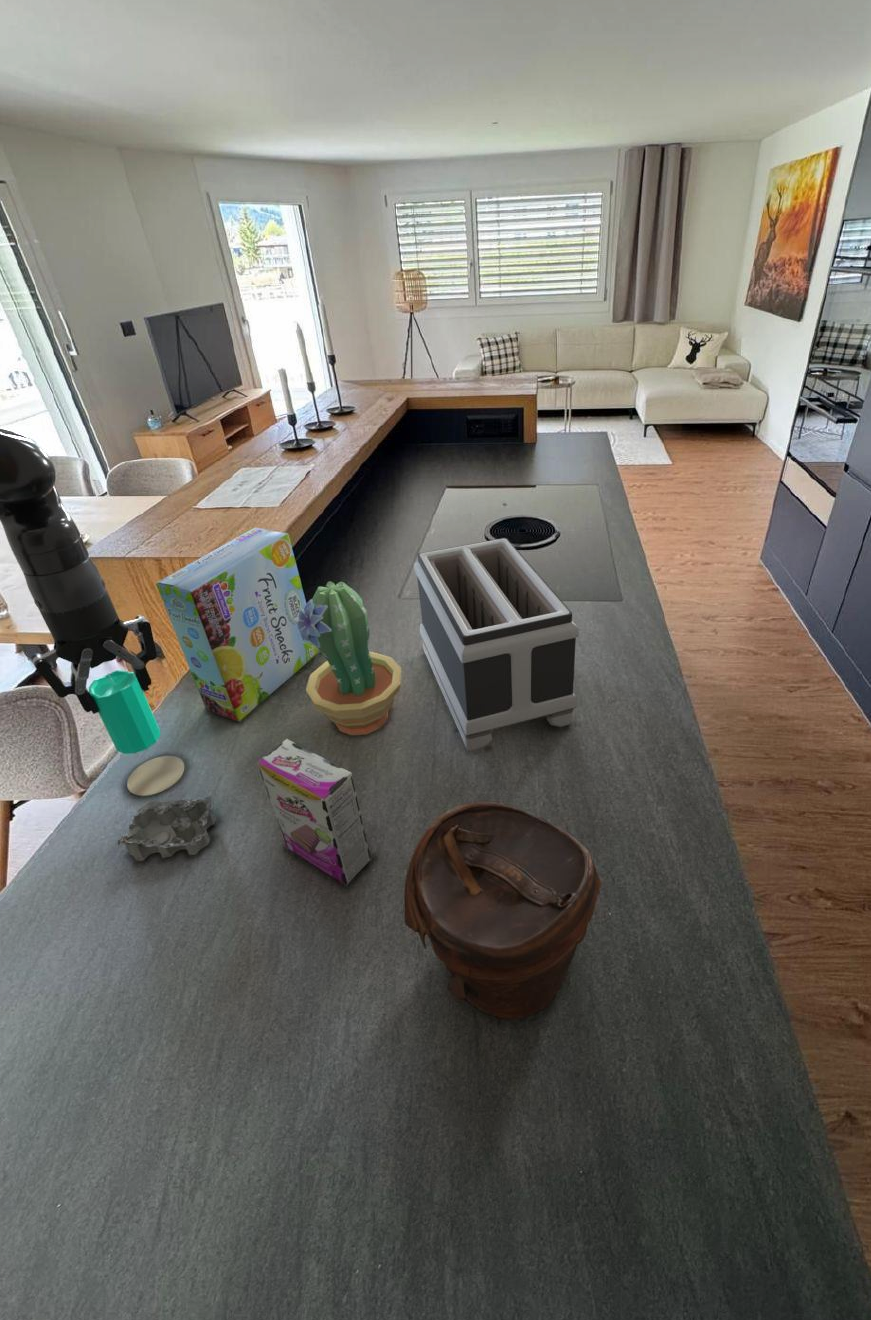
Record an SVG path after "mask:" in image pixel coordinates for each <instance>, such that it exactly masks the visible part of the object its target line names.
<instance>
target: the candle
mask: <svg viewBox="0 0 871 1320" xmlns="http://www.w3.org/2000/svg"><path fill="white" fill-rule="evenodd" d="M88 691H89V693H90V695H91V697H92V699H93V701H94V703H95V705H96V707H97V709H98V711H99V712H98V713H97V714H98V715H99V717H100V719H101V721H102V723H103V725H104V727H105V729H106V731H107V733H108V735H109V737H110V740H111V741H112V743H113V746H114V748H115V750H116V751H117V752H119V753H120V754H124V755H130V754H137V753H140V752H144V751H145V750H148V749H149V748H150V747H152V746H153V745H155V744H156V743H157V742H158V741H159V738H160V737H161V735H162V734H161V730H160V727H159V724H158V723H157V720H156V718H155V716H154V713H153V711H152V709H151V706H150V703H149V702H148V699H147V697H146V694H145V692H144V691H143V690H142V688H141V685H140V683H139V681H138V678H137V676H136V674H135V672H133V671H129V670H126V671H125V670H118V669H117V670H114V671H112V672H110V673H109V672H108V673H107V674H106V675H103V676H101V677H98V678H95V679H93V681H92V682H91V683H90V685H89V686H88Z"/></svg>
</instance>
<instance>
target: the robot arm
mask: <svg viewBox="0 0 871 1320" xmlns="http://www.w3.org/2000/svg"><path fill="white" fill-rule="evenodd" d="M56 479H57V474H56V468H55V465H54V463H53V461H52V458H51V457H50V456H49V454H48V453H47V452H46V451H45V450H44V449H43V448H42V447H41V446H40V445H39V444H38V443H37V442H36V441H35V440H33V439H32V438H31V437H30V436H28V435H27V434H25V433H23V432H22V431H19V430H16V429H13V428H8V427H0V523H1V525H2V527H3V530H4V534H5V536H6V539H7V542H8V545H9V547H10V549H11V551H12V554H13V556H14V557H15V560H16V561H17V563H18V565H19V568H20V570H21V572H22V574H23V576H24V578H25V582H26V587H27V588H28V591H29V593H30V595H31V597H32V599H33V601H34V602H33V603H34V605H35V606H36V607H37V609H38V611H39V613H40V615H41V617H42V619H43V620H44V623H45V624H46V627H47V629H48V630H49V633H50V634H51V637H52V638H53V641H54V644H53V648H52V649H51V650H48V651H47V652H45V653H43V654H40V653H34V654H33V655H32V656H31V657H30V658H31V662H32V664H33V665H34V667H35V669H36V671H38V673H39V674H40V675H41V677H42V678H43V679H44V680H45V682H46V683H47V684H48V685H49V686H50V688H51V689H52V690H53V692H54V693H55V694H56V695H57V697H59V698H67V696H68V695H74V696H76V698H77V699H78V702H79V704H80V706H81V707H82V709H83V711H85V712H86V713H90V712H91V713H92V715H95V714H99V713H98V712H99V711H98V709H97V707H96V705H95V703H94V701H93V699H92V697H91V695H90V693H89V688H87V683H88V679H89V677H90V671H91V669H94V668H96V667H97V668H98V667H99V666H100V665H102V664H103V663H107V662H112V661H114V660H117V659H118V658H119V659H121V660H122V661H123V662H125V663H127V664H129V665H130V667H131V670H132V672H135V674H136V676H137V678H138V681H139V683H140V685H141V688H142V690H143V692H144V693H145V692H147V691H149V690H150V687H149V686H152V683H153V682H152V679H151V676H150V674H149V671H148V670H147V664H148V663H149V662H150V661H154V660H156V659H157V657H158V653H157V648H156V644H155V640H154V635H153V631H152V626H151V623H150V621H148V620H147V619H146V617H145V616H144V615H142V614H141V615H140V614H139V615H137V616H135V618H134V619H133V620H129V621H125V622H124V621H123V620H122V619H120V617H119V614H118V612H117V610H116V607H115V605H114V603H113V600H112V599H111V596H110V593H109V591H108V590H107V587H106V582H105V579H104V578H103V577H102V575H101V572H100V571H99V568H98V567H97V565H96V563H95V561H94V560H93V559H92V557H91V555H90V553H89V551H88V548H87V546H86V544H85V541H84V539H83V537H82V535H81V532H80V530H79V528H78V526H77V524H76V522H75V521H74V520H73V519H74V518H72V516H71V515H70V513H69V512H68V511H67V509H66V507H65V506H64V504H63V502H62V499H61V497H60V494H59V491H58V489H57V487H56V485H55V484H56ZM129 632H132V633H133V634H134V636H136V637H138V640H139V641H138V642H139V645H140V649H141V650H140V651H139V652H138V653H136V652H134V651H133V650H131V649H130V648H129V647H128V646H126V645H125V643H126V639H127V636H128V634H129ZM59 658H60V659H62V660H64V661H67V662H69V663H70V672H71V673H70V679H69V681H63V680H62V679H61V677H59V675H58V673H56V671H55V670H56V668H57V667H58V664H57V660H58V659H59Z"/></svg>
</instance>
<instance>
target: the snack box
mask: <svg viewBox="0 0 871 1320" xmlns="http://www.w3.org/2000/svg"><path fill="white" fill-rule="evenodd" d="M299 573H300V572H299V570H298V566H297V561H296V558H295V554H294V551H293V547H292V543H291V538H290V534H289V532H280V531H276V530H275V531H274V530H270V529H267V528H261V527H253V528H251V529H250V530H248V531H246V532H244V533H243V534H241V535H239V536H238V537H235V538H233V539H232V540H229V541H227V542H226V543H225V544H223V545H221V546H220V547H217V548H216V549H214V550H212V551H210V552H209V553H207V554H205V555H204V556H202V557H200V558H198V559H196V560H194V561H192V562H191V563H188V564H187V565H186V566H184V567H182V568H180V569H178V570H177V571H175V572H173V573H171V574H169V575H168V576H166V577H164V578H163V579H160V580H159V581H157V582H156V583H155V586H156V588H157V591H158V594H159V597H160V598H161V601H162V603H163V605H164V608H165V611H166V614H167V616H168V618H169V620H170V621H169V622H170V624H171V625H172V628H173V630H174V633H175V636H176V638H177V641H178V643H179V646H180V648H181V650H182V653H183V656H184V658H185V660H186V663H187V666H188V668H189V671H190V672H191V676H192V678H193V681H194V683H195V686H196V689H197V691H198V693H199V696H200V698H201V701H202V703H203V706H204V708H205V710H206V711H208V712H211V713H214V714H216V715H218V716H219V715H220V716H223V717H225V718H228V719H231V720H234V721H236V722H239V723H240V722H241V721H242V720H244V718H245V717H246V716H248V714H250V713H251V712H252V711H253V710H254V709H256V708H257V707H258V706H259V705H260V704H261V703H262V702H263V701H264V700H266V699H267V698H268V697H269V696H270V695H271V694H273V693H274V692H275V691H276V690H277V689H279V688H280V687H281V686H282V685H283V684H284V683H285V682H287V681H288V680H289V679H290V678H292V676H293V675H295V674H296V673H297V672H299V670H301V669H302V668H303V667H304V666H305V665H307V663H309V662H310V661H311V660H312V659H313V658H314V657H316V655H318V654H319V653H320V650H319V649H318V648H317V647H316V646H315V645H314V644H312V643H311V642H310V641H308V642H307V641H306V640H305V641H303V639H302V636H301V634H300V630H299V629H298V624H297V621H299V618H298V616H299V613H300V610H301V609H304V607H305V606H306V604H307V601H306V597H305V593H304V590H303V585H302V581H301V577H300V574H299Z"/></svg>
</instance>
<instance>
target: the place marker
mask: <svg viewBox="0 0 871 1320" xmlns="http://www.w3.org/2000/svg"><path fill="white" fill-rule="evenodd" d="M184 772H185V763H184V761H183V760H182V759H181V758H179V757H178V756H174V755H163V756H158V757H154V758H151V759H149V760H147V761H145V762H143V763H142V764H140V765H139V766H137V768H135V769H134V770H133V771H132V773H131V774H130V775H129V777H128V779H127V782H126V786H127V790H128V791H129V793H131V795H134V796H138V797H149V796H150V797H151V796H154V795H159V794H160V793H163V792H165V791H167V790H168V789H170V788H172V787H173V786H174V785H175V784H177V782H178V781H180V780H181V778H182V776H183V775H184Z"/></svg>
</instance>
